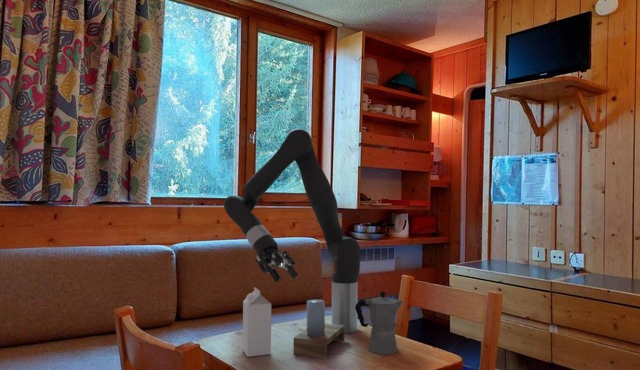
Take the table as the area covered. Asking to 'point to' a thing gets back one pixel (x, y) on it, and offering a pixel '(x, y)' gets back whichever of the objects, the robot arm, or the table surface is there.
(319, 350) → the shelf
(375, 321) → the coffeepot
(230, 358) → the table surface
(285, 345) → the table surface
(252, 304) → the milk carton
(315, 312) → the blue dome-topped cylinder
